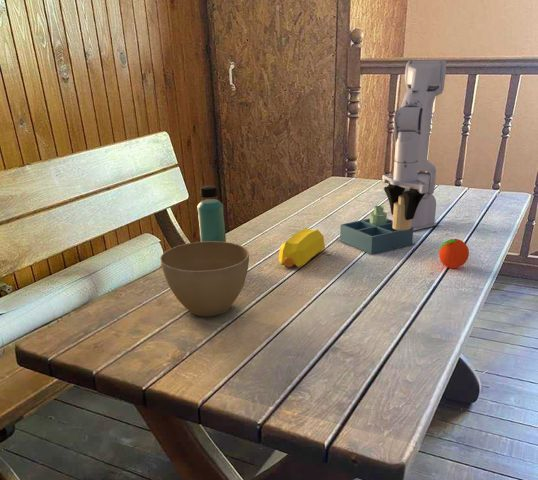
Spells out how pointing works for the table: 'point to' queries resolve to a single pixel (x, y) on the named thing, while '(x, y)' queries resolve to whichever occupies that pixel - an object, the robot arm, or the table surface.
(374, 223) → the mint bottle
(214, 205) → the beverage bottle
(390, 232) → the carrier
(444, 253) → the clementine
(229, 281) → the brown bowl
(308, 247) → the yellow faceted toy car
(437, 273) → the table surface
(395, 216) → the cream bottle
